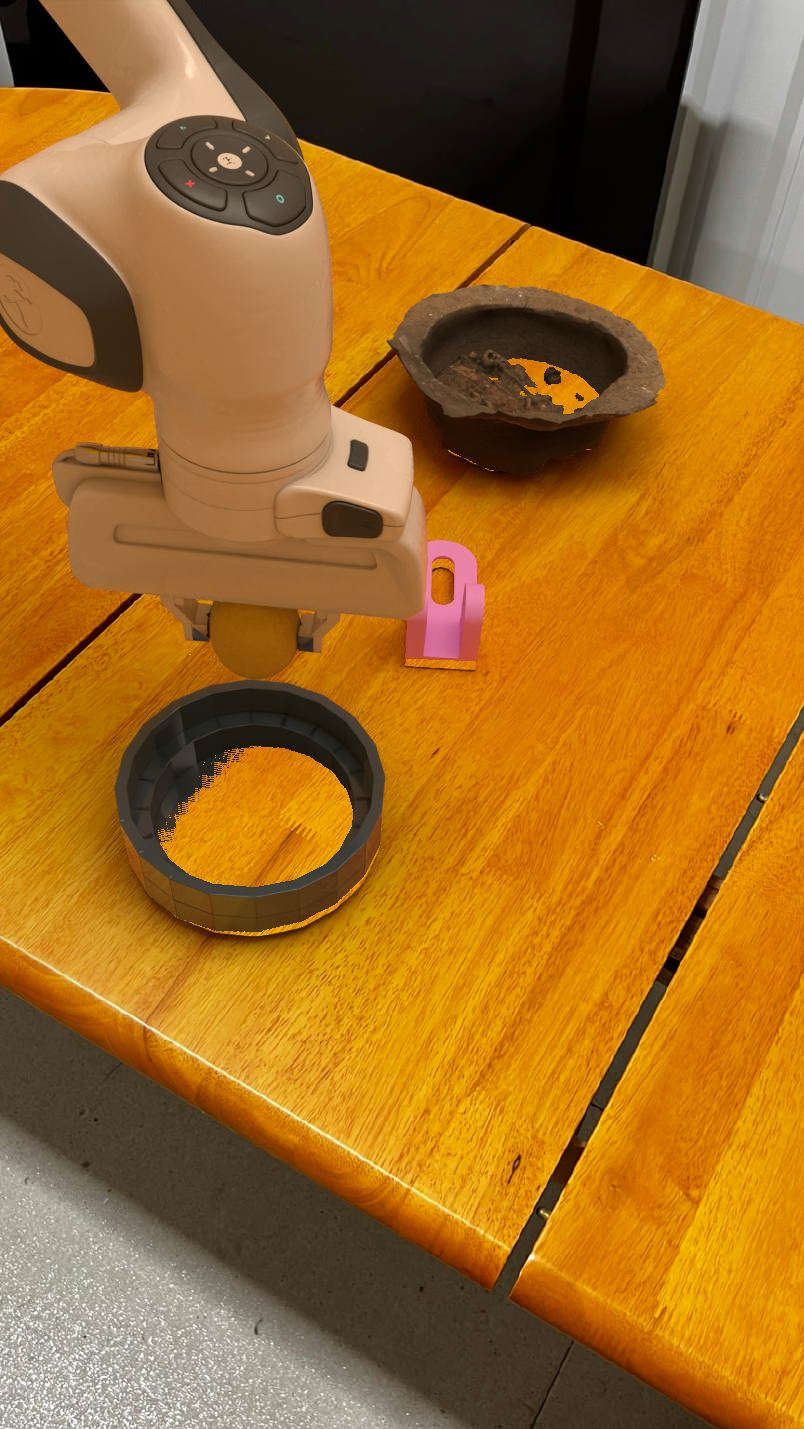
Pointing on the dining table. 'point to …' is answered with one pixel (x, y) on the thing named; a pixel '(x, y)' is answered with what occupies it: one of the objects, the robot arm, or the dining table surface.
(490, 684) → the dining table surface
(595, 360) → the stone bowl
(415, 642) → the bracket
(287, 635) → the lemon
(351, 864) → the dark grey round ring
